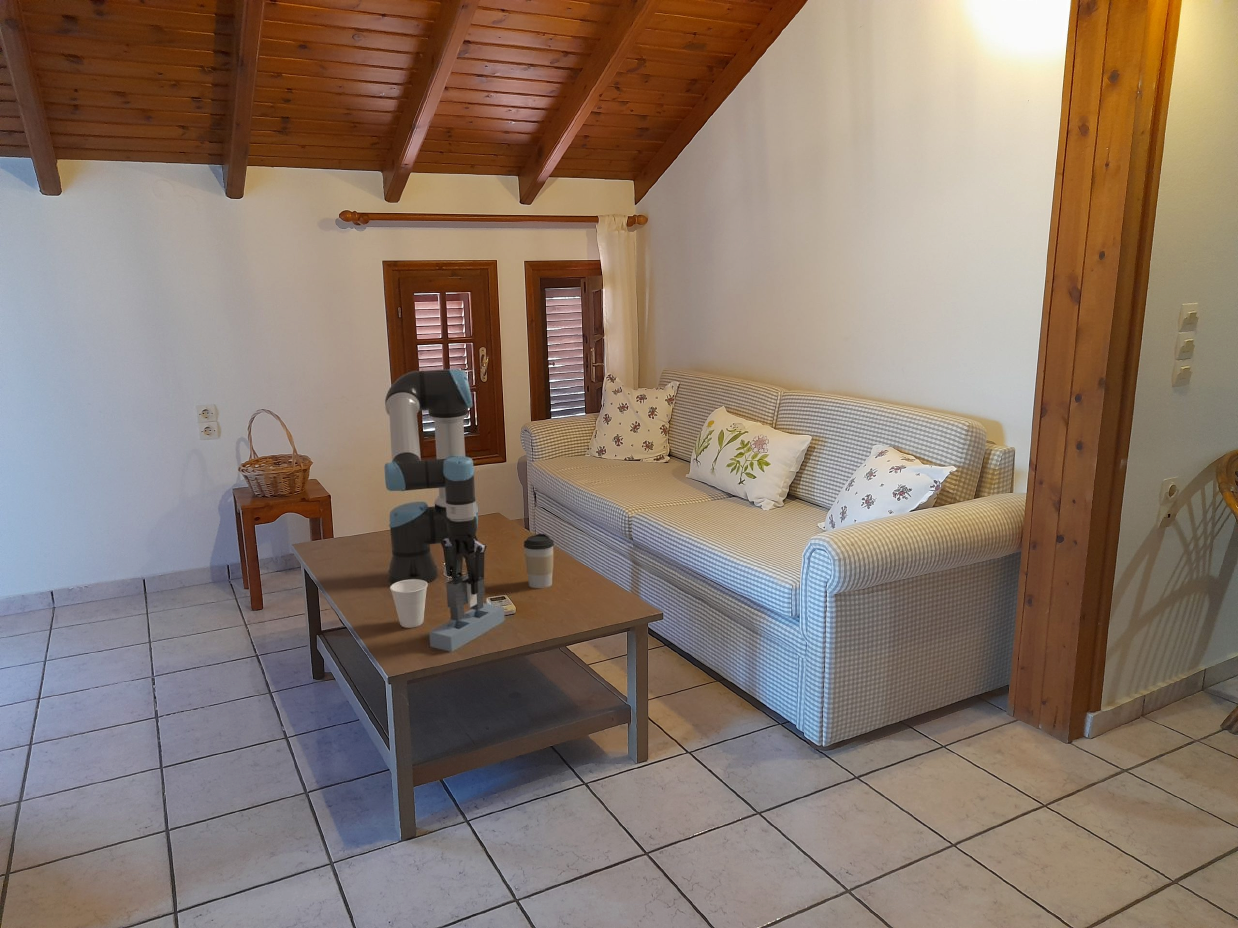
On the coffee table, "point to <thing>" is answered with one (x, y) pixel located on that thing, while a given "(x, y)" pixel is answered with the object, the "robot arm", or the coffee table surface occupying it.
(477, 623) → the grey block with hole
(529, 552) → the coffee cup
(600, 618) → the coffee table surface
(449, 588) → the clip
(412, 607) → the cup
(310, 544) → the coffee table surface
